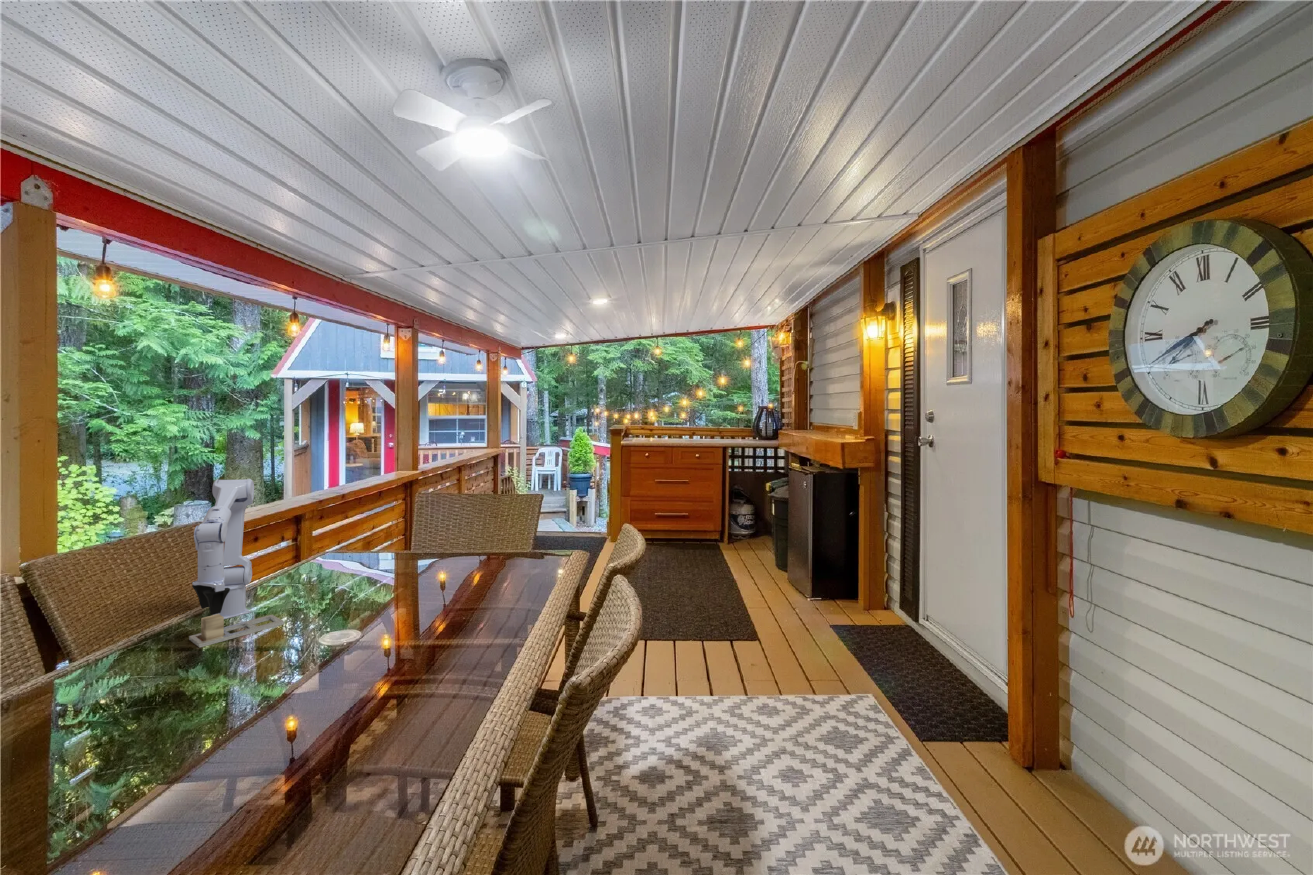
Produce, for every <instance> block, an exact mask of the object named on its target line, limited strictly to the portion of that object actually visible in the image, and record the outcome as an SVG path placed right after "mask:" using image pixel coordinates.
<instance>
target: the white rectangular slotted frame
mask: <svg viewBox="0 0 1313 875" xmlns="http://www.w3.org/2000/svg"><path fill="white" fill-rule="evenodd" d="M267 621H272V622H269V623H265V624H261V625H259V626H257V625H255V624H260V623H263V622H267ZM284 622H285V621H284V620H283V619H281V618H279V617H277V616H276V615H274V614H269V615H265V616H262V617H258V618H253V619H250V620H246V621H242V622H238V623H234V624H230V625H227V626H224V636H221V637H217V638H213V639H209V640H206V641H204V640H203V639H201V632H200V633H196V634H193V635H189V636H188V640H189V641H190V642H192V643H193V644H194V645H195V646H197V647H198V648H203V647H206V646H210V645H214V644H217V643H221V642H225V641H228V640H232V639H235V638H239V637H243V636H246V635H250V634H254V633H257V632H261V631H265V630H268V629H272V628H275V627H279V626H282V625H284V624H285V623H284ZM245 627H246V628H247V629H244V630H240V631H236V632H232V633H230V631H233V630H238V629H241V628H245Z"/></svg>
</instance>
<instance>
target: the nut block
mask: <svg viewBox="0 0 1313 875" xmlns="http://www.w3.org/2000/svg"><path fill="white" fill-rule="evenodd" d="M200 618H201V620H200V624H201V625H200V627H201V628H200V633H201V639H203V640H204V641H206V640H209V639H213V638H217V637H221V636H224V627H225V619H224V617H223V616H221V615H219V614H216V615H208V616H205V617H204V616H203V617H200Z"/></svg>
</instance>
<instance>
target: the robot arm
mask: <svg viewBox="0 0 1313 875" xmlns="http://www.w3.org/2000/svg"><path fill="white" fill-rule="evenodd" d="M212 483H213V484H212V488H211V489H212V496H213V497H214V500H215V504H214V506H212V507H210V508H209V509H208V510H207V512H206V514H205V516H204V518H203V521H202V523H200V524H198V525H196V526H195V528H194V530H193V540H194V541H193V542H194V544H195V545H194V546H195V551H197V580H195V581H193V582H192V583H191V584H192V585H191V587H192V589H193V590H194V591H195V593H196V595H197V598H198V602H199V605H200V607H201V609H206V608H208V609H209V613H210V616H212V615H216V614H219V615H221V616H223V617H224V620H226V619H227V620H228V619H231V618H234V617H235V618H236V617H239V616H243V615H248V614H251V613H252V611H251V610H249V609H248V608H247V607H246V606H247V605H246V603H247V601H246V599H247V598H246V595H247V593H246V590H247V589H246V588H247V587H246V586H248V585H249V584H250V583H251V582H252V577H253V568H252V567H253V566H252V565H253V564H252V561H251V560H250V559H248V558H247V557H245V556H243V553H242V552H243V542H244V541H243V539H244V525H245V517H246V516H245V513H246V509H247V506H250V505H252V504H253V501H254V498H255V497H254V496H255V482H254V481H253V480H252V479H251V478H245V479H243V478H242V479H218V478H217V479H216V480H215V481H214V482H212Z"/></svg>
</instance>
